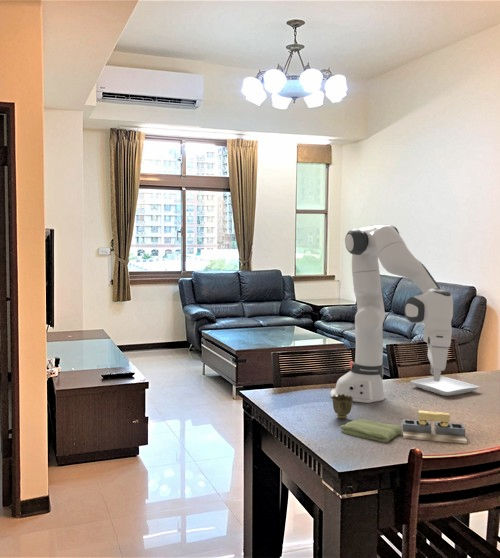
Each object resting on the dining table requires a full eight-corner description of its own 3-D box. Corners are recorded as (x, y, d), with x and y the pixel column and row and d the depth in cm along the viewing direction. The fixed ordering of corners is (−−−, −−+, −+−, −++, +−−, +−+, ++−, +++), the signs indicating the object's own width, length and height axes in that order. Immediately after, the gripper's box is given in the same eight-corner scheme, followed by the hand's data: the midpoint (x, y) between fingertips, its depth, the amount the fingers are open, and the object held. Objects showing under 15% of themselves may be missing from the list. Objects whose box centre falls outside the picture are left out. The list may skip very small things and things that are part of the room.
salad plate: (441, 382, 264) (441, 375, 264) (480, 393, 246) (480, 385, 246) (408, 387, 253) (409, 380, 253) (446, 400, 235) (447, 391, 235)
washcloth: (355, 423, 203) (356, 414, 203) (402, 434, 193) (403, 425, 193) (338, 433, 193) (338, 424, 193) (387, 445, 182) (387, 436, 182)
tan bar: (418, 431, 192) (418, 412, 192) (417, 428, 195) (418, 410, 194) (449, 433, 190) (449, 415, 190) (447, 431, 193) (448, 412, 192)
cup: (339, 422, 203) (340, 400, 202) (327, 416, 209) (328, 395, 209) (356, 419, 206) (357, 398, 206) (344, 414, 213) (344, 393, 212)
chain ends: (402, 431, 192) (403, 424, 192) (401, 426, 197) (402, 419, 197) (465, 436, 188) (465, 429, 188) (462, 431, 193) (462, 424, 193)
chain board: (403, 438, 188) (403, 435, 188) (401, 425, 201) (401, 422, 201) (466, 443, 184) (466, 440, 184) (460, 430, 197) (460, 427, 197)
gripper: (424, 331, 201) (422, 369, 202) (430, 341, 181) (428, 384, 182) (443, 332, 200) (440, 371, 201) (451, 343, 180) (448, 385, 181)
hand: (434, 377), depth 191 cm, fingers open, 8 cm apart
